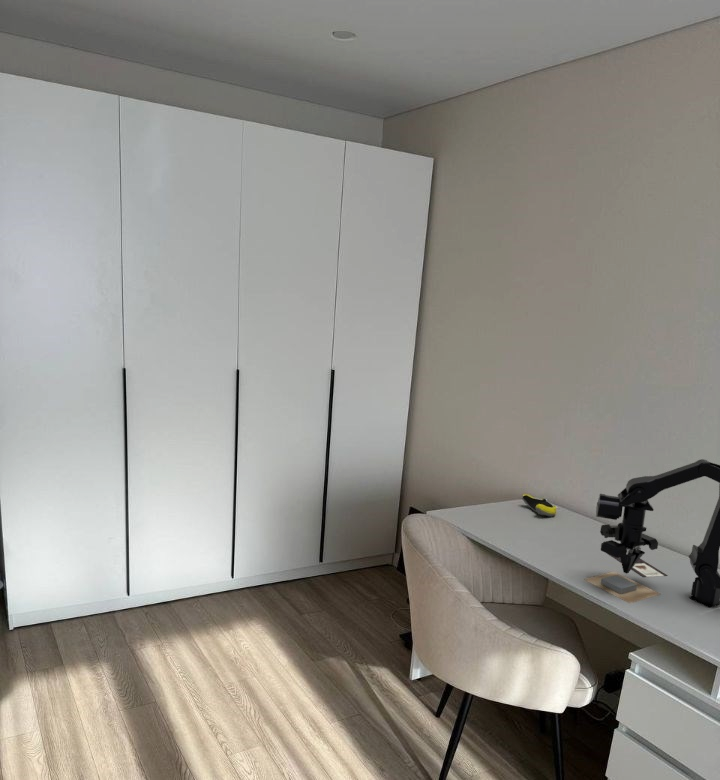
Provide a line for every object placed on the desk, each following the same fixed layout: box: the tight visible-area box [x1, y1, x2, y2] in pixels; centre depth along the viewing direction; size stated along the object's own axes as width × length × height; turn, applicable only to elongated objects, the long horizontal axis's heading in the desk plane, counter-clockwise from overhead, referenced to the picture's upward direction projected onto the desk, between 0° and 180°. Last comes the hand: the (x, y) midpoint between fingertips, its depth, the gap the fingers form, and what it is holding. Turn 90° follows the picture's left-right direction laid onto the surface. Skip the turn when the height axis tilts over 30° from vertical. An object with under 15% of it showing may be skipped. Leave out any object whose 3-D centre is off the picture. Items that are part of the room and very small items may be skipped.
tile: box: [601, 575, 637, 594], centre depth 190 cm, size 7×2×7 cm
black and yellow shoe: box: [521, 493, 558, 518], centre depth 254 cm, size 15×6×10 cm
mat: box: [583, 571, 661, 604], centre depth 191 cm, size 16×14×1 cm
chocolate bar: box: [607, 554, 668, 578], centre depth 209 cm, size 9×1×18 cm
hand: (625, 572), depth 191 cm, fingers closed
